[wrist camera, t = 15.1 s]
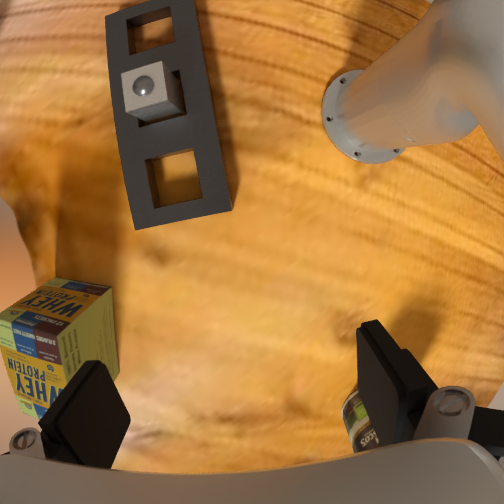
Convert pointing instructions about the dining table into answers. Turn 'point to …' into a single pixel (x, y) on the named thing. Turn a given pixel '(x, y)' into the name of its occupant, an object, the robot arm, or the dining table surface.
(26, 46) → the dining table surface
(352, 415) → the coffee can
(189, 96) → the rail
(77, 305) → the protein box
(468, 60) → the robot arm
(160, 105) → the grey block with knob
